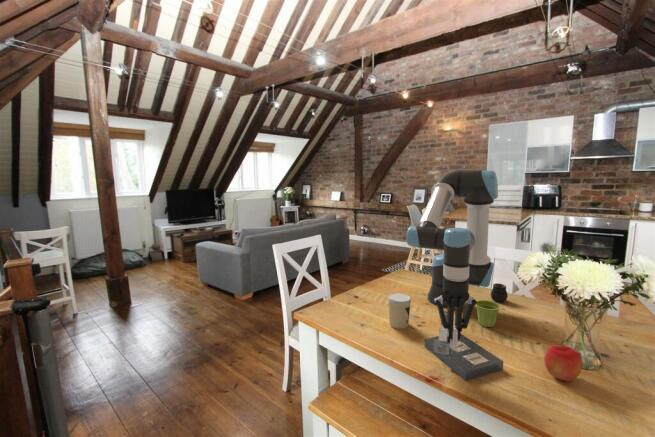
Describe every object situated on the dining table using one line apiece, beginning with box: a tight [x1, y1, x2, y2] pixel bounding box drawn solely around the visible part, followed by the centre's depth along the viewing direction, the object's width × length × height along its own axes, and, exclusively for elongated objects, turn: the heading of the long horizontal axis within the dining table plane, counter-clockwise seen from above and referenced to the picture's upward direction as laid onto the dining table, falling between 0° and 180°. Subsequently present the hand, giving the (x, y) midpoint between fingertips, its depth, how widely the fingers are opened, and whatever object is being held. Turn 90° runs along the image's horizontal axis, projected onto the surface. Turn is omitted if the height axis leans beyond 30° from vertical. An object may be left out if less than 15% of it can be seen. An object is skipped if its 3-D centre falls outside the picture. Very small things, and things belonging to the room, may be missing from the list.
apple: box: [543, 344, 583, 382], centre depth 94 cm, size 10×10×10 cm
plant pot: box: [475, 299, 501, 328], centre depth 128 cm, size 9×9×9 cm
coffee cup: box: [387, 292, 412, 330], centre depth 129 cm, size 9×9×12 cm
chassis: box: [424, 327, 504, 382], centre depth 106 cm, size 15×20×6 cm
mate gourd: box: [490, 282, 508, 303], centre depth 151 cm, size 7×8×10 cm
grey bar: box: [434, 310, 450, 355], centre depth 104 cm, size 21×4×6 cm, turn 155°
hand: (453, 347), depth 100 cm, fingers closed
